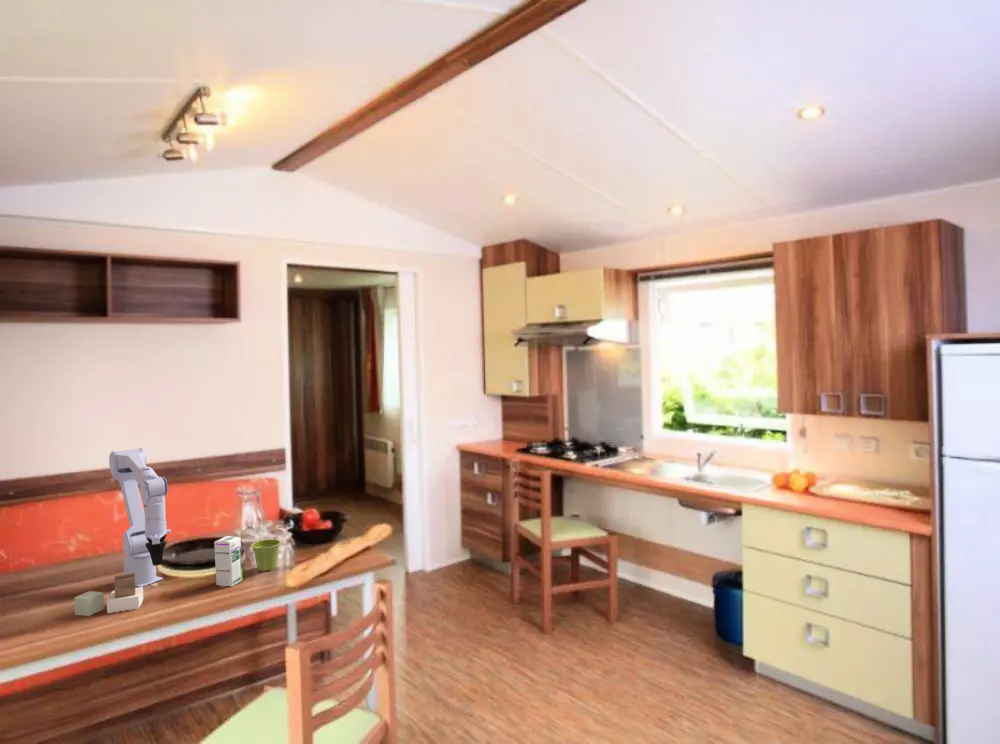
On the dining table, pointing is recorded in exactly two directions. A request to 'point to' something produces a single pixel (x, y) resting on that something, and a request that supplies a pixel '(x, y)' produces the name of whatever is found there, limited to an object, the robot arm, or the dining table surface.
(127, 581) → the walnut block
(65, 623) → the dining table surface
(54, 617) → the dining table surface
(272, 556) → the plant pot
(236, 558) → the syrup box
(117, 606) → the base block
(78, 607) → the sage green block
